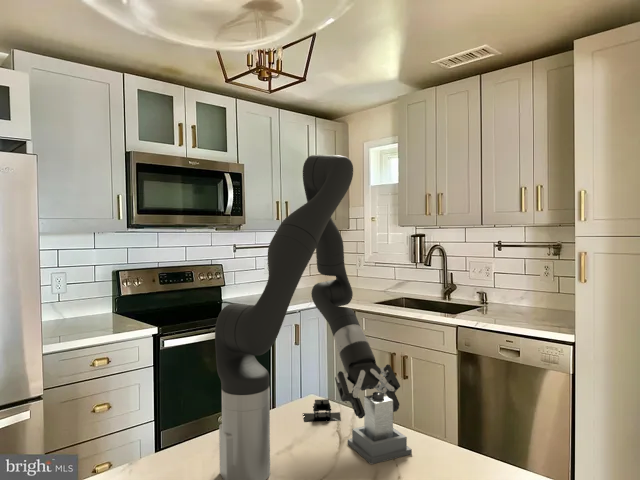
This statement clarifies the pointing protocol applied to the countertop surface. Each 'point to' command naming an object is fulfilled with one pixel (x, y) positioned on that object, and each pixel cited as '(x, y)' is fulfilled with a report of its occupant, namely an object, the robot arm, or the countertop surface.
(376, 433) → the knobbed grey block
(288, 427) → the countertop surface
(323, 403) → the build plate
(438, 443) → the countertop surface
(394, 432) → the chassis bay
